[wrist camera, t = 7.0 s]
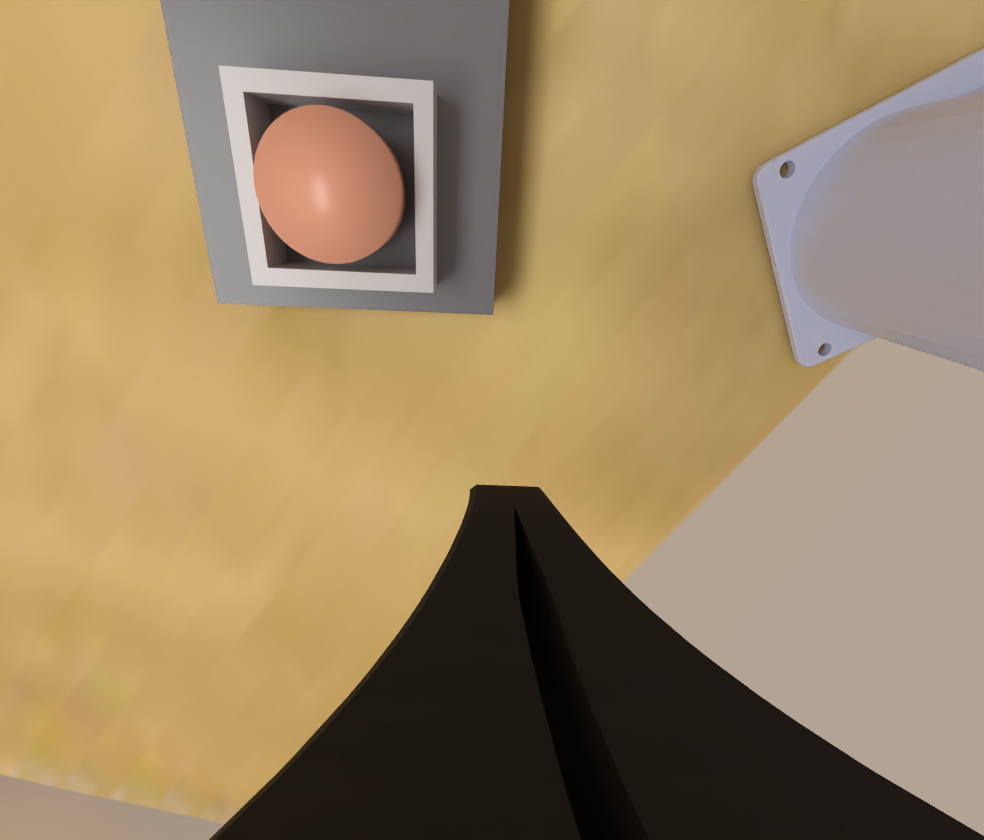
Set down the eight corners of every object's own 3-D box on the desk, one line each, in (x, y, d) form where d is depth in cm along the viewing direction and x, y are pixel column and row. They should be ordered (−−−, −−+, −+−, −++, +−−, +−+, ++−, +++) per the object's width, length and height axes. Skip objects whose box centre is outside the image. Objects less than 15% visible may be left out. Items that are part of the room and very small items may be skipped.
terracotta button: (267, 111, 12) (242, 99, 11) (404, 120, 13) (397, 110, 11) (284, 255, 14) (265, 260, 12) (407, 261, 14) (401, 266, 13)
